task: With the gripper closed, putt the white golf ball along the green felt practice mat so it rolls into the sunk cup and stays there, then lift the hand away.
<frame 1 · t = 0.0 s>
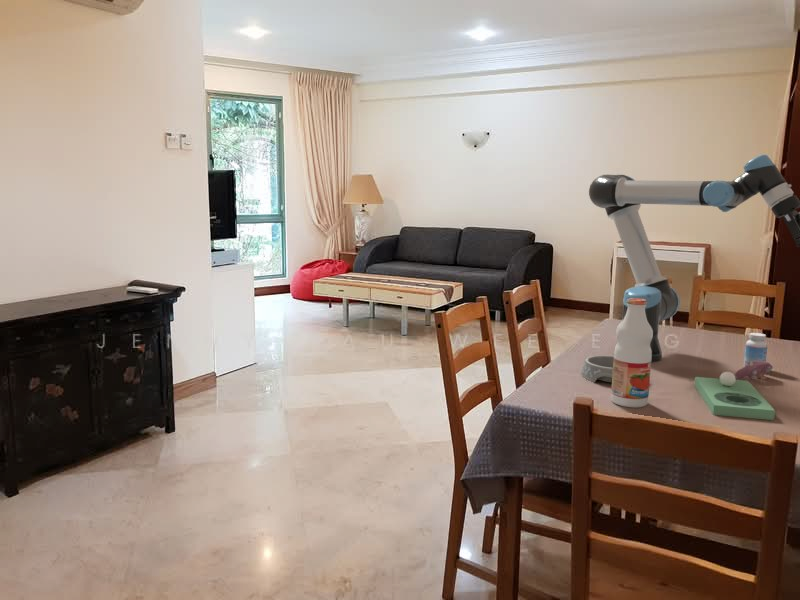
pill bottle: (753, 369, 211), on the table
dog bowl: (611, 379, 198), on the table
mat: (731, 401, 178), on the table
video game controller: (753, 379, 200), on the table
fruit juice: (628, 403, 176), on the table
ball: (727, 378, 183), point 4 cm above the table, touching mat
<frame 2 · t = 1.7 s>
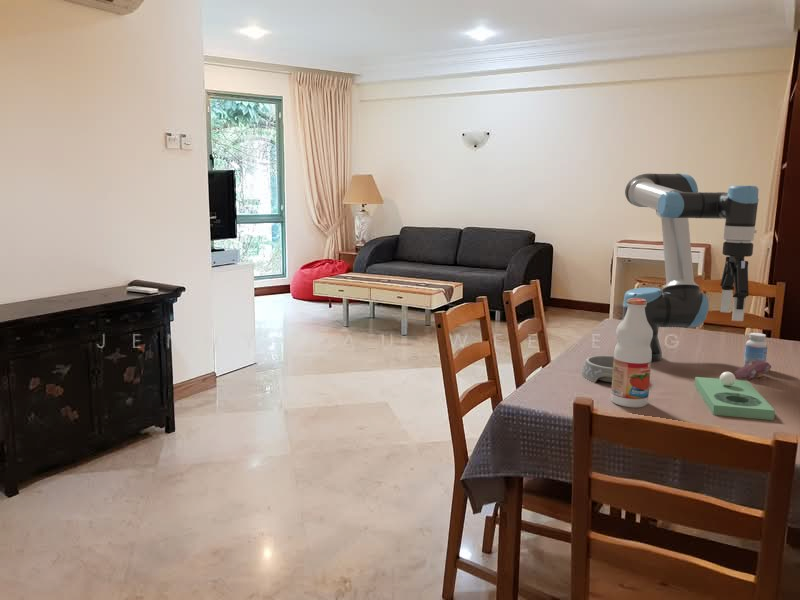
hand: (731, 316, 187), 21 cm above the table, tool pointing down, fingers open, 13 cm apart
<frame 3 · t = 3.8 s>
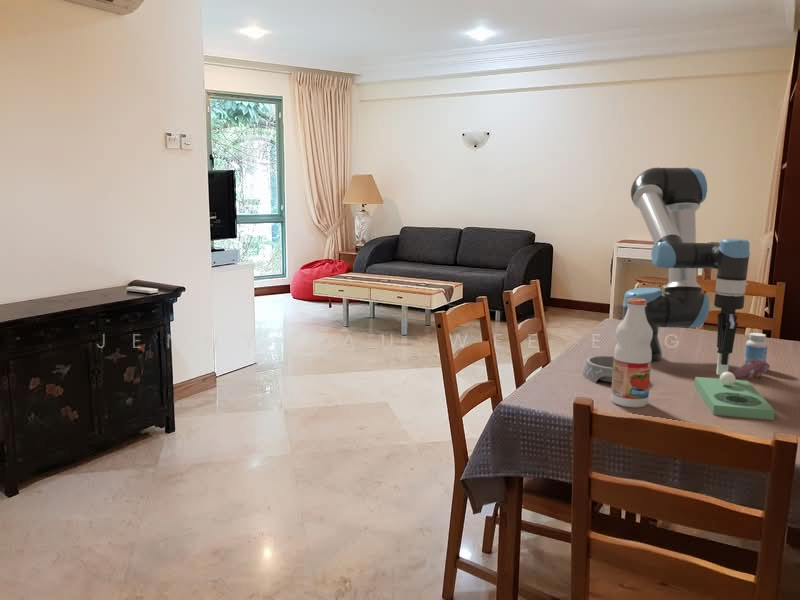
hand: (721, 374, 190), 4 cm above the table, tool pointing down, fingers closed
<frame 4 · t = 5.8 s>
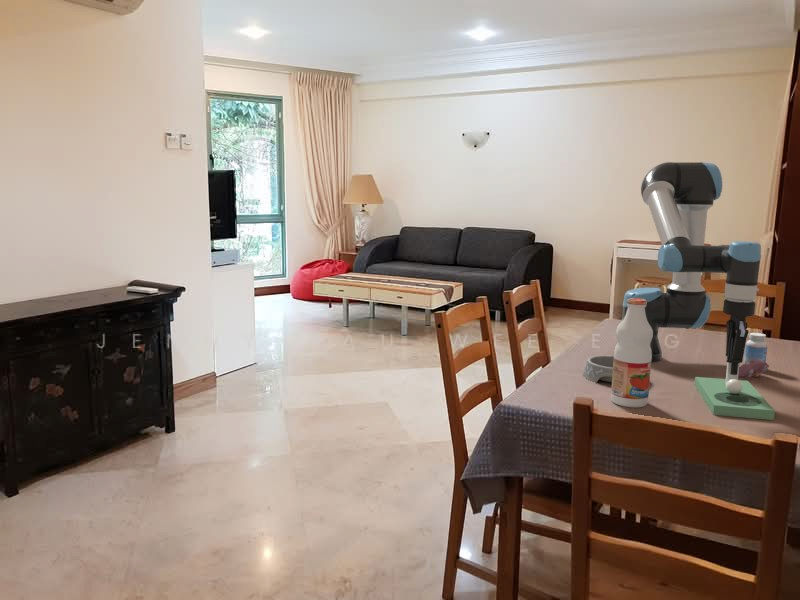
hand: (731, 385, 179), 4 cm above the table, tool pointing down, fingers closed
ball: (734, 386, 176), point 4 cm above the table, tilted 159°, touching mat
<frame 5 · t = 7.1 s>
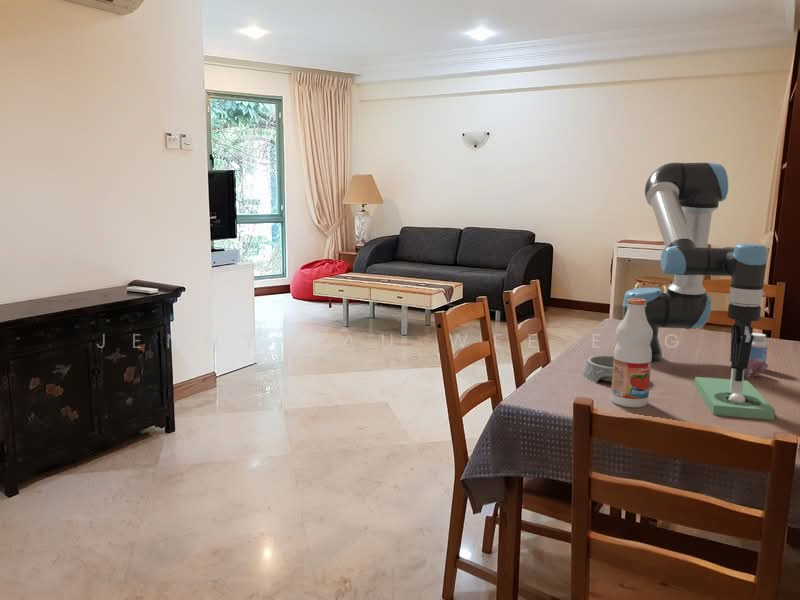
hand: (735, 391, 174), 4 cm above the table, tool pointing down, fingers closed
ball: (736, 400, 172), point 2 cm above the table, tilted 12°, touching gripper
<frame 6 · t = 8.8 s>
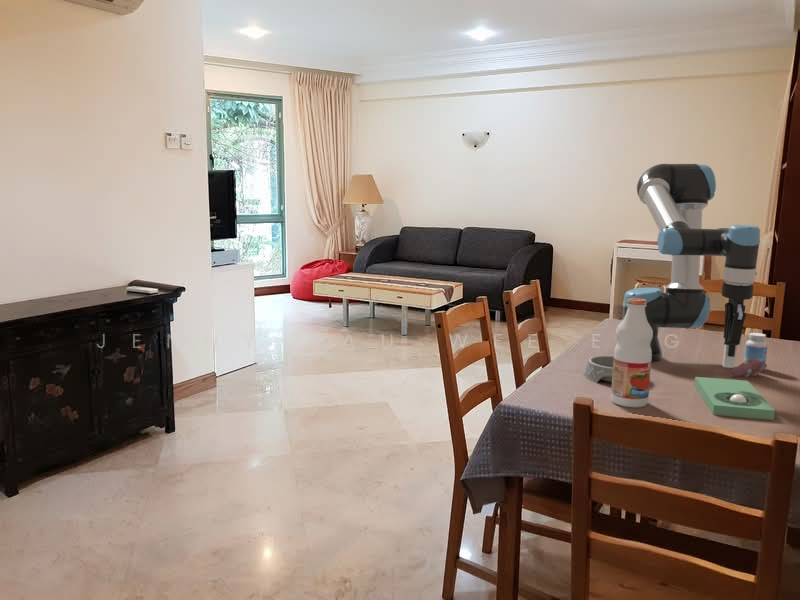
hand: (728, 366, 182), 8 cm above the table, tool pointing down, fingers closed
ball: (738, 401, 171), point 2 cm above the table, tilted 27°
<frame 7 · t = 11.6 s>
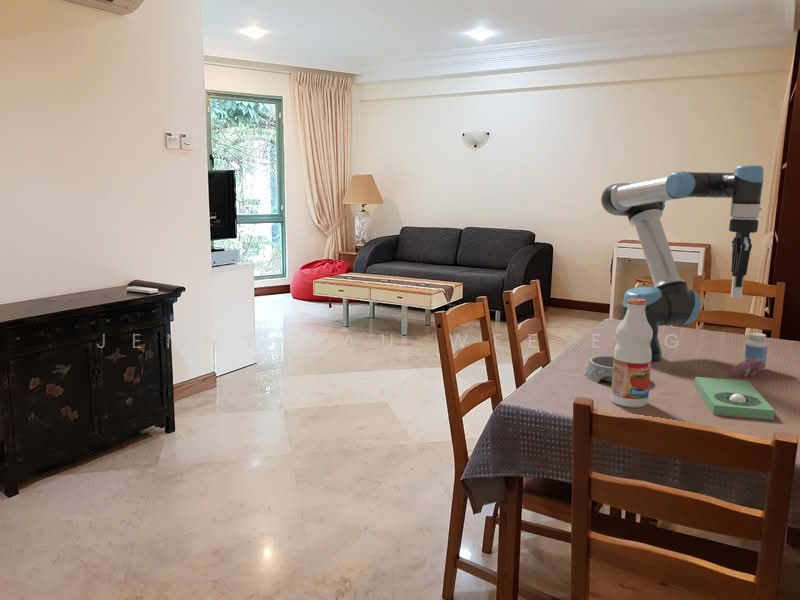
hand: (736, 297, 198), 24 cm above the table, tool pointing down, fingers closed
ball: (737, 401, 172), point 2 cm above the table, tilted 12°
at the end: ball 0.2 cm from the target spot in the mat, point 2.0 cm above the mat's base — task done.
